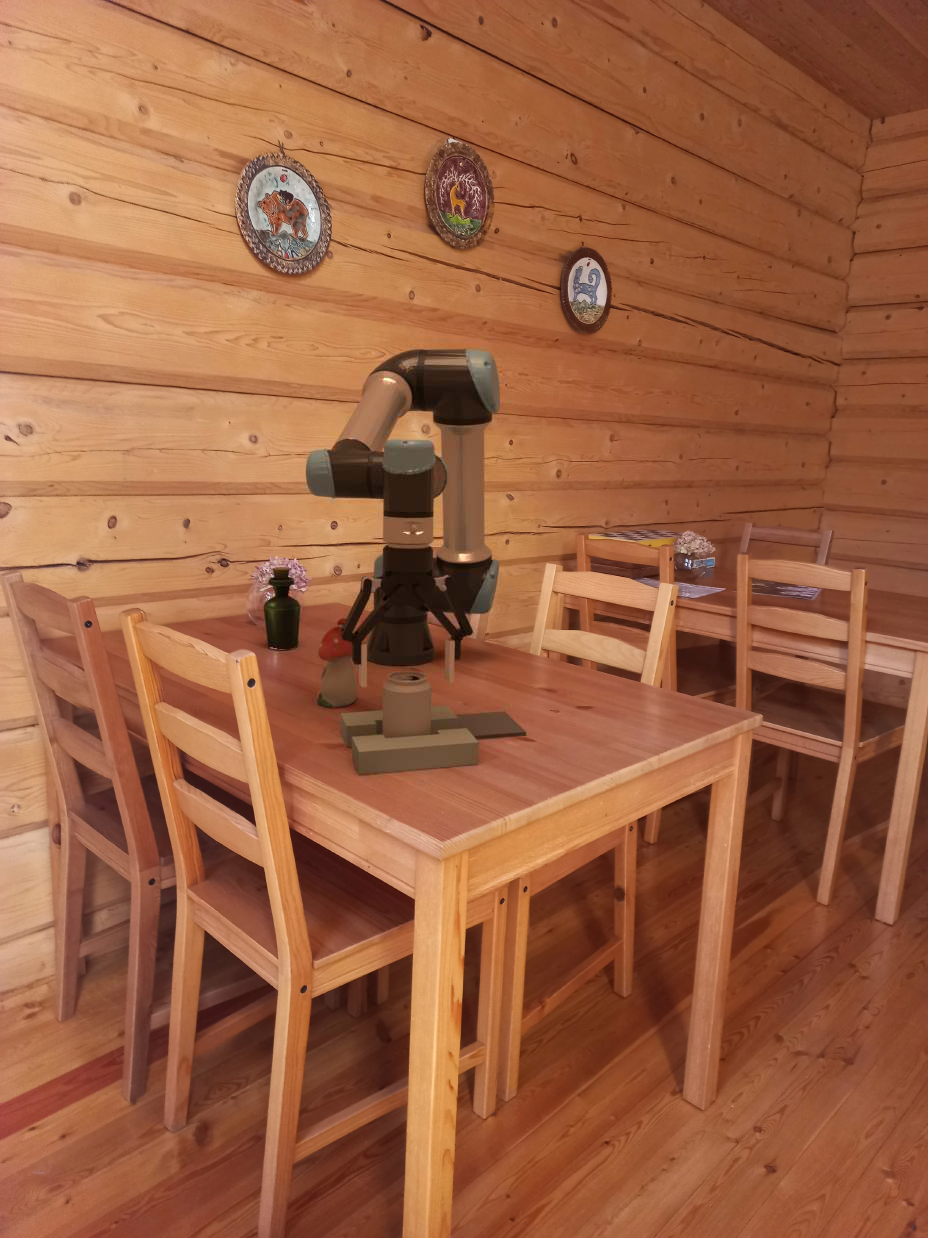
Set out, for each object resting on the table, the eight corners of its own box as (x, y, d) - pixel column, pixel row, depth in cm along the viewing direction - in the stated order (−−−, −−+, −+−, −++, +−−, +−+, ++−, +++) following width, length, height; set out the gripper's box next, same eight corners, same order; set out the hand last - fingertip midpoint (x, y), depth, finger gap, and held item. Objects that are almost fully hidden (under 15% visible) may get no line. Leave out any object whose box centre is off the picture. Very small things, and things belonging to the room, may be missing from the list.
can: (436, 754, 137) (437, 679, 134) (389, 759, 134) (389, 683, 132) (422, 738, 144) (423, 666, 141) (377, 742, 141) (377, 670, 139)
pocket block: (340, 733, 145) (340, 713, 144) (446, 725, 150) (447, 705, 149) (359, 775, 128) (359, 752, 127) (478, 764, 133) (478, 742, 132)
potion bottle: (271, 653, 195) (269, 572, 191) (259, 645, 201) (257, 566, 198) (306, 649, 199) (305, 569, 195) (294, 641, 205) (292, 564, 202)
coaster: (444, 719, 153) (444, 715, 153) (504, 714, 156) (504, 711, 156) (462, 740, 143) (462, 736, 143) (526, 735, 146) (526, 731, 146)
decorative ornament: (340, 693, 167) (339, 615, 164) (368, 699, 164) (368, 619, 160) (307, 705, 159) (306, 624, 156) (336, 712, 156) (336, 628, 153)
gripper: (327, 548, 125) (328, 693, 129) (495, 546, 132) (491, 684, 136) (320, 542, 132) (321, 680, 136) (480, 541, 139) (476, 672, 143)
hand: (406, 682), depth 136 cm, fingers open, 13 cm apart
